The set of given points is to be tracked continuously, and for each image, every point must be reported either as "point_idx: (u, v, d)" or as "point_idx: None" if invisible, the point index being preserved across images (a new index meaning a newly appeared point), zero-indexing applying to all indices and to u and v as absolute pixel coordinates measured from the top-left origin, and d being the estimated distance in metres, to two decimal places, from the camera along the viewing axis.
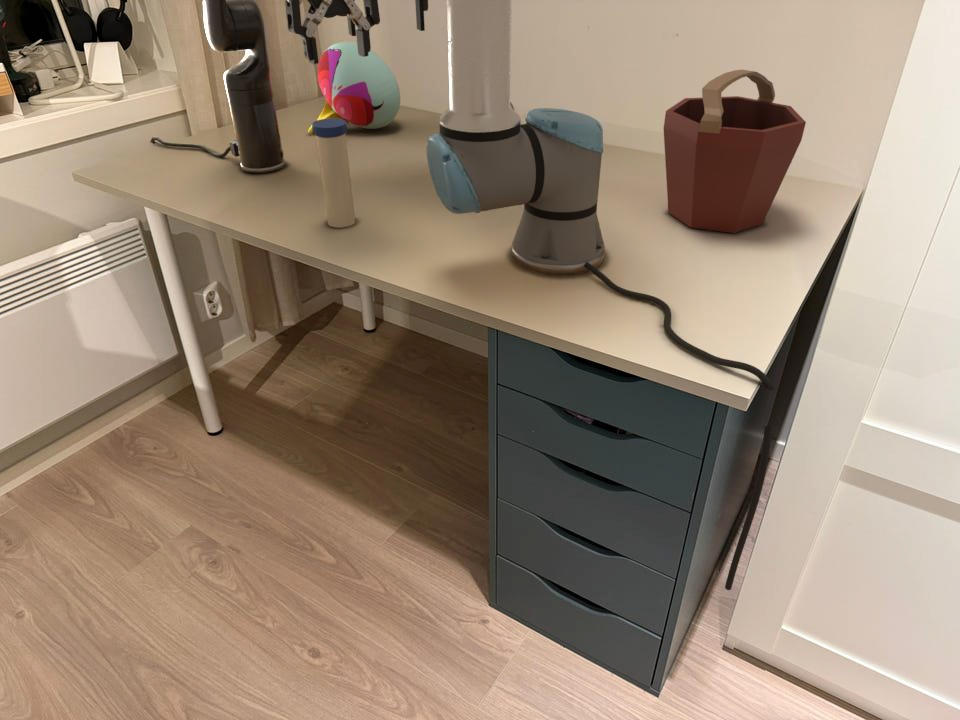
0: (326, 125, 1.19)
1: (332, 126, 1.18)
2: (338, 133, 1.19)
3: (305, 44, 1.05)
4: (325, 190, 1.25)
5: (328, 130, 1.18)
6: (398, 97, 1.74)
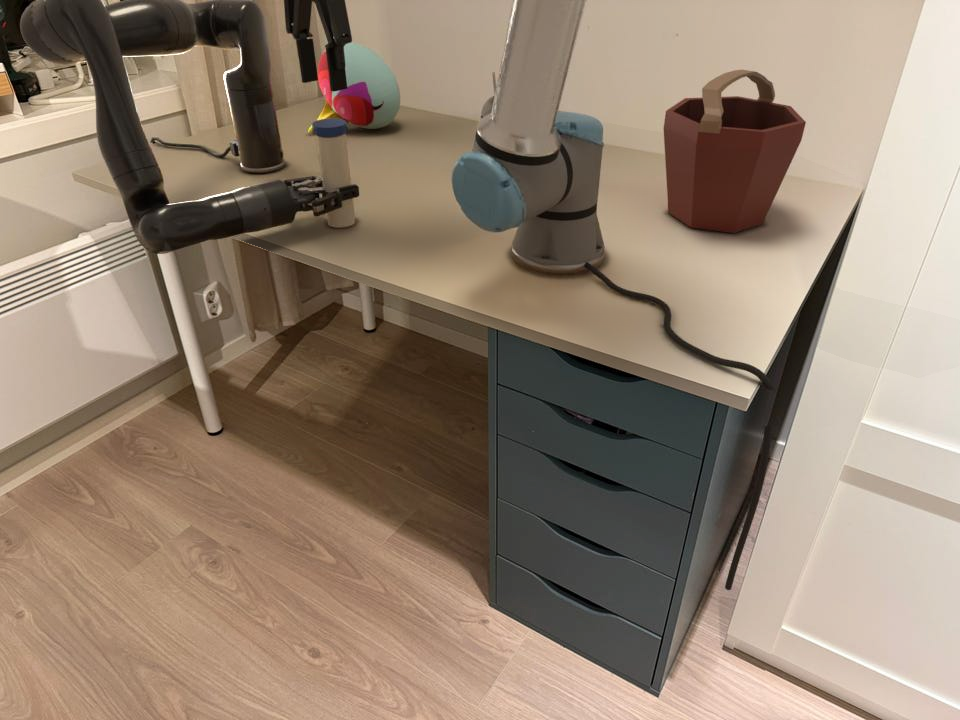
0: (326, 125, 1.19)
1: (332, 126, 1.18)
2: (338, 133, 1.19)
3: None
4: None
5: (328, 130, 1.18)
6: (398, 97, 1.74)
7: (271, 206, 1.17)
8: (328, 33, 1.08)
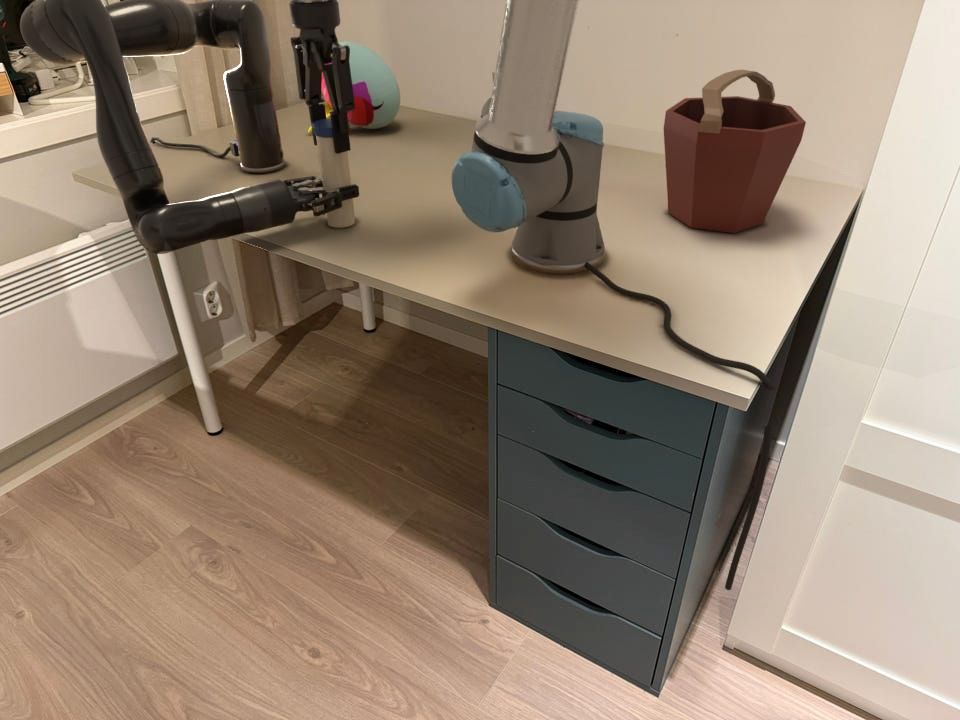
0: (326, 125, 1.19)
1: None
2: None
3: None
4: None
5: (328, 130, 1.18)
6: (398, 97, 1.74)
7: (271, 206, 1.17)
8: (333, 101, 1.14)
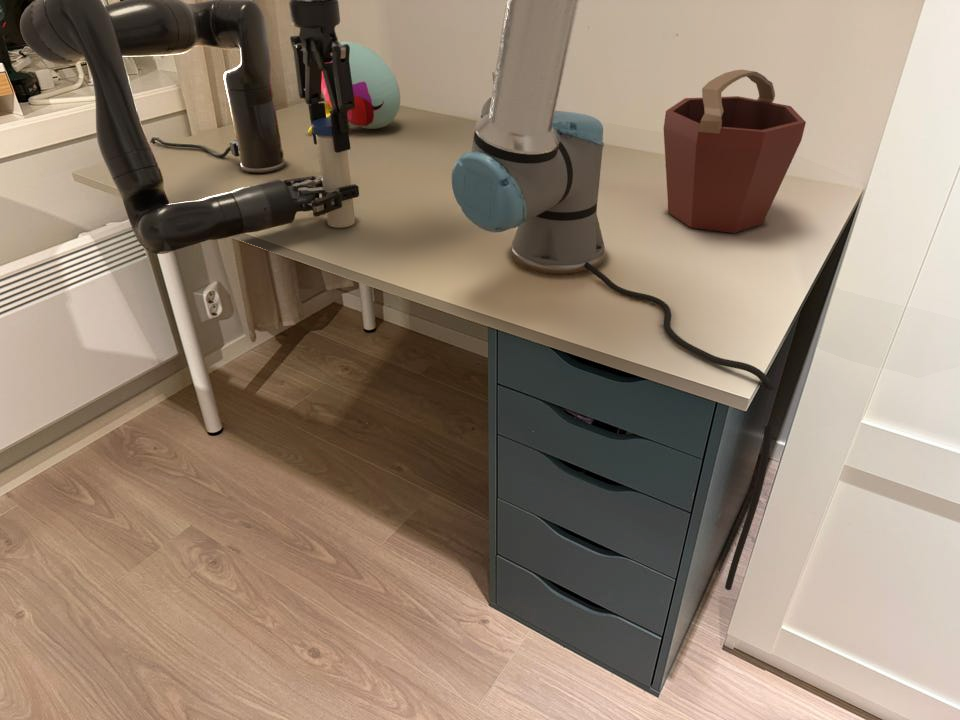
0: None
1: None
2: None
3: None
4: None
5: None
6: (398, 97, 1.74)
7: (271, 206, 1.17)
8: (333, 100, 1.14)
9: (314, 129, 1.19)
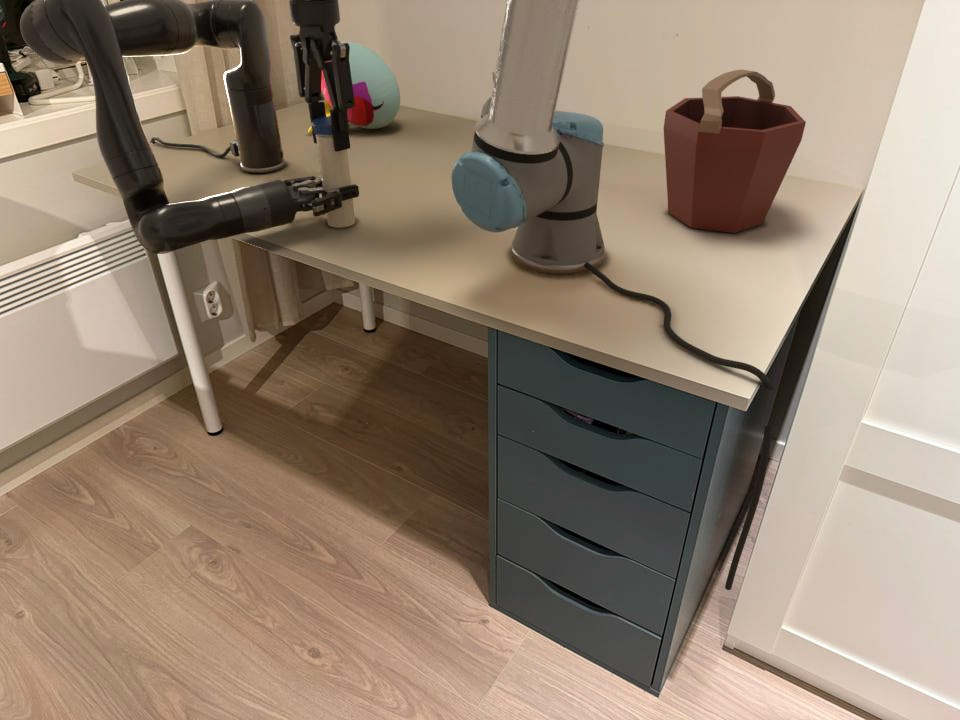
0: (324, 119, 1.21)
1: (316, 119, 1.20)
2: None
3: None
4: None
5: None
6: (398, 97, 1.74)
7: (271, 206, 1.17)
8: (332, 98, 1.14)
9: None
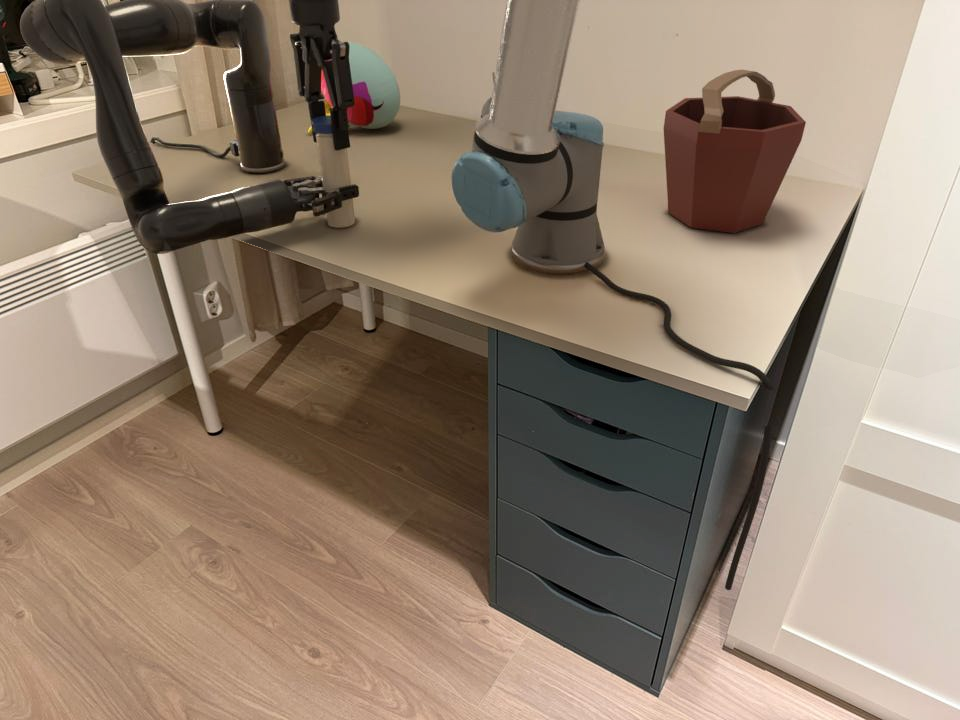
0: (323, 122, 1.19)
1: (327, 123, 1.18)
2: None
3: None
4: None
5: (323, 127, 1.18)
6: (398, 97, 1.74)
7: (271, 206, 1.17)
8: (332, 97, 1.14)
9: None
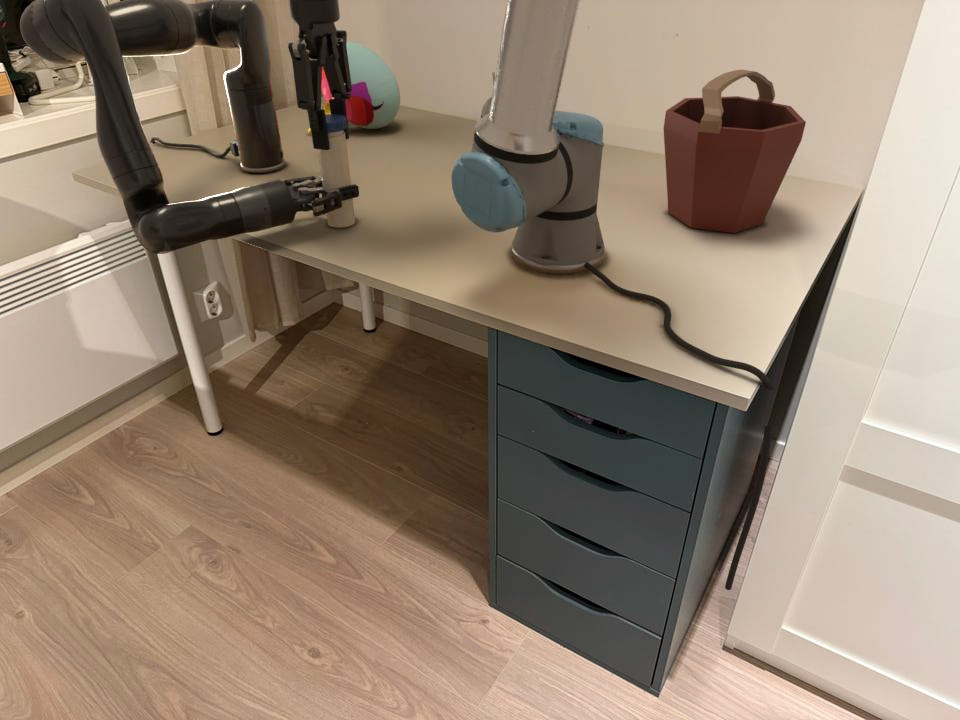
0: (337, 118, 1.20)
1: (341, 116, 1.21)
2: None
3: None
4: None
5: (345, 119, 1.20)
6: (398, 97, 1.74)
7: (271, 206, 1.17)
8: (343, 86, 1.20)
9: None
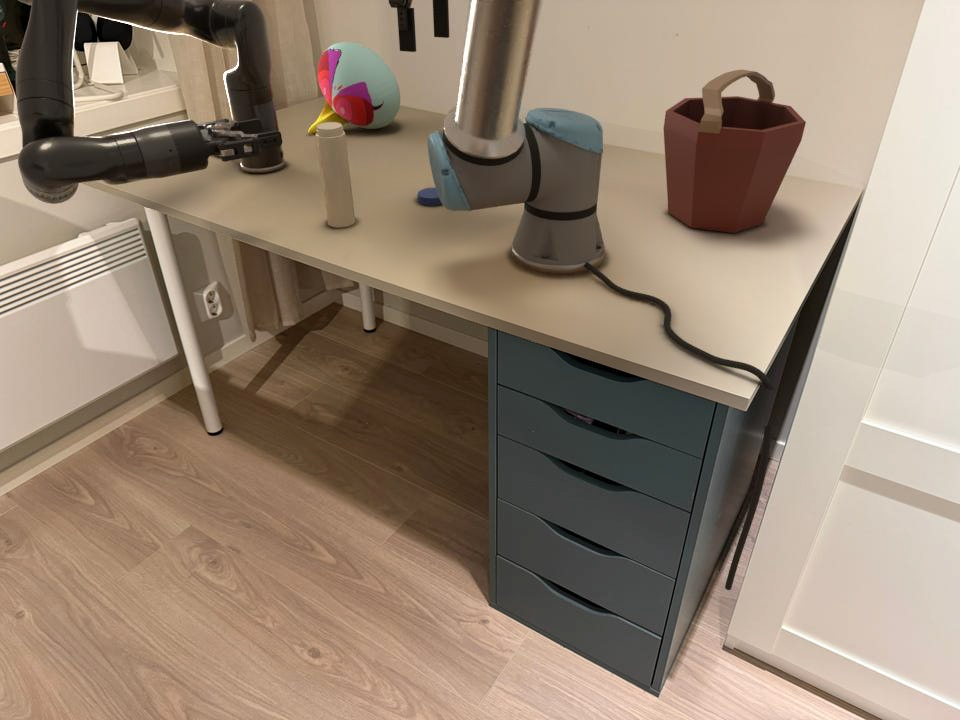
0: None
1: None
2: None
3: None
4: (325, 190, 1.25)
5: None
6: (398, 97, 1.74)
7: (178, 147, 1.04)
8: None
9: (418, 198, 1.37)
